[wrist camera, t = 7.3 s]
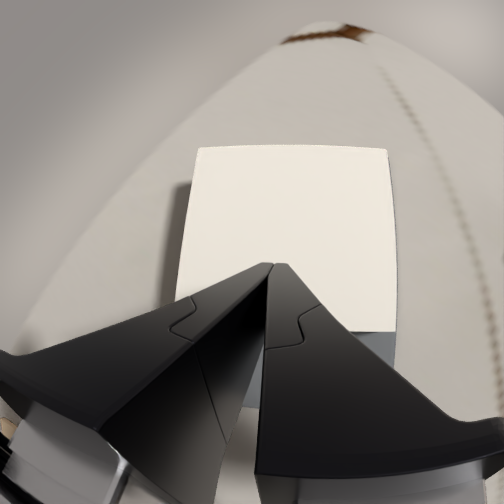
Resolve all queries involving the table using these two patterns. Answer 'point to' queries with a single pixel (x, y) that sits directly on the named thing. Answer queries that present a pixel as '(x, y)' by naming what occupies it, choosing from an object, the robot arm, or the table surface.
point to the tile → (297, 224)
